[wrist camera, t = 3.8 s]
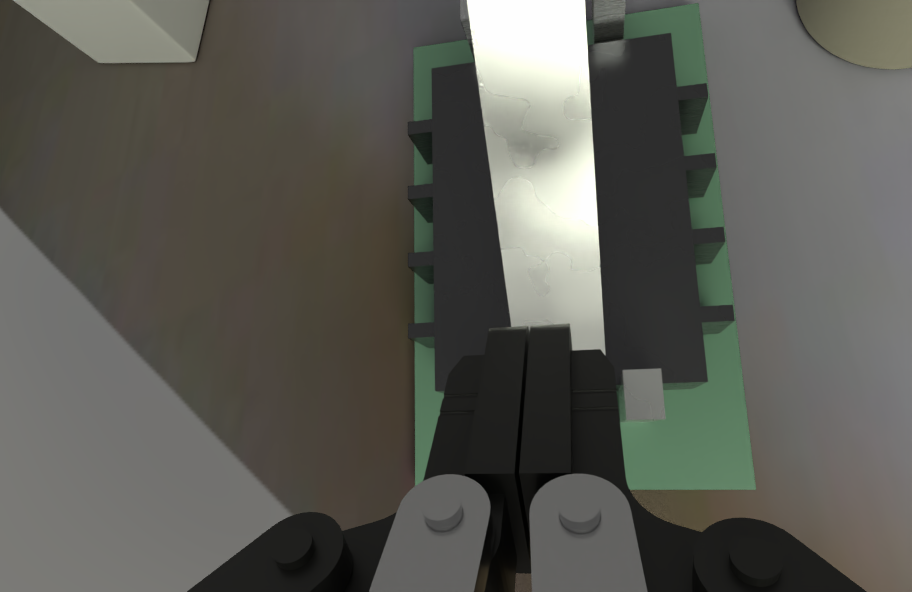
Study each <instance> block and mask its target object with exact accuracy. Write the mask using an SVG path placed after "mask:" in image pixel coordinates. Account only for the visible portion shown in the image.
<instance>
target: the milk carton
mask: <svg viewBox="0 0 912 592" xmlns="http://www.w3.org/2000/svg"><path fill="white" fill-rule="evenodd" d="M13 1H15V2H16V3H17V4H19V5H20V6H21V7H23V8H24V9H25V10H27V11H28V12H30V13H31V14H32V15H34V16H35V17H36V18H38V19H39V20H41V21H42V22H43V23H45V24H46V25H47V26H49V27H50V28H51V29H53V30H54V31H56V32H57V33H58V34H60V35H61V36H62V37H64V38H65V39H66V40H68V41H69V42H71V43H72V44H73V45H75V46H76V47H77V48H79V49H80V50H81V51H83V52H84V53H86V54H87V55H88V56H90V57H91V58H92V59H94V60H95V61H97V62H99V63H166V62H195V61H196V57H197V53H198V48H199V44H200V40H201V35H202V31H203V27H204V22H205V18H206V14H207V9H208V5H209V0H13Z"/></svg>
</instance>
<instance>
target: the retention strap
mask: <svg viewBox="0 0 912 592" xmlns="http://www.w3.org/2000/svg"><path fill="white" fill-rule="evenodd" d="M467 5H468V12H469V20H470V27H471V34H472V42H473V49H474V56H475V64H476V71H477V78H478V86H479V93H480V100H481V108H482V115H483V122H484V130H485V137H486V144H487V152H488V159H489V166H490V174H491V181H492V188H493V196H494V203H495V210H496V218H497V225H498V232H499V240H500V247H501V254H502V262H503V269H504V276H505V284H506V291H507V298H508V306H509V313H510V320H511V327H518V326H528V327H529V331H530V327H531V326H533V325H551V324H568V323H570V330H571V340H572V350H593V349H600V350H601V351H602V352H603V353H604V355H605V356H606V354H605V337H604V320H603V303H602V286H601V269H600V252H599V235H598V218H597V201H596V184H595V167H594V150H593V133H592V116H591V99H590V82H589V65H588V48H587V31H586V14H585V0H467Z"/></svg>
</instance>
